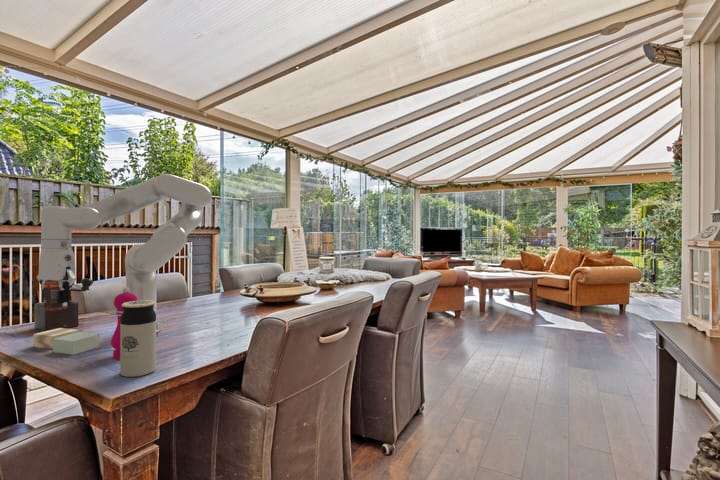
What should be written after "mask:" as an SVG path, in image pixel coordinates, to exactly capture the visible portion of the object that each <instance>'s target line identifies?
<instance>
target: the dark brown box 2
mask: <svg viewBox="0 0 720 480" xmlns="http://www.w3.org/2000/svg"><path fill="white" fill-rule="evenodd" d="M80 284H81V288H80V289H76V288H71V289H70V292H78V293H80V292H87V291H90V287H91V286H92V285H93V284H94V280H93V279H92V278H87V277H85V278H82V279H81V280H80ZM33 320H34V322H33V323H34V325H33V328H34V329H35V330H38V331H40V332H44V331H49V330H53V329H58V328H66V329H72V328H75V327H79V326H80V324H79V323H80V322H79V301H75V300H70V301H69V302H68V306H67V308H66V309H63V310H55V311H46V310H44V302H43V301H42V302H36V303H34V319H33Z"/></svg>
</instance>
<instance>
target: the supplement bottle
mask: <svg viewBox="0 0 720 480" xmlns="http://www.w3.org/2000/svg"><path fill="white" fill-rule="evenodd" d="M63 280H65V279H63ZM64 284H65V282H64V283H63V285H64ZM59 290H60V288H59V284H58V281H52V280H48V281H46V282H45V283H44V310H46V311H55V310H63V309H66V308H67V306H68V302H65V303H58V291H59Z"/></svg>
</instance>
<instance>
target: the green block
mask: <svg viewBox="0 0 720 480" xmlns="http://www.w3.org/2000/svg"><path fill="white" fill-rule="evenodd" d="M99 347H100V334H99V333H91V332H82V331H79V332H78V333H74V334H70V335H66V336H62V337H58V338H54V339H53V349H52V353H55V354H63V355H65V354H66V355H72V356H75V355H77V354H81V353H83V352H88V351H90V350H93V349H94V350H95V349H97V348H99Z"/></svg>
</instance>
